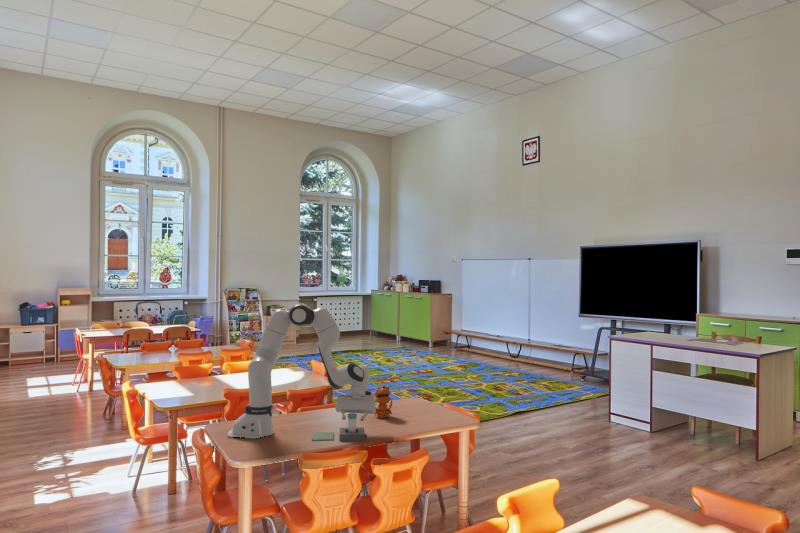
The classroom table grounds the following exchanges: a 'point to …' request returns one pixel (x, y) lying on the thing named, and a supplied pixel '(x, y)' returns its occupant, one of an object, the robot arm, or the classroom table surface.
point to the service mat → (322, 436)
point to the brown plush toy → (383, 402)
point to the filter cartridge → (352, 422)
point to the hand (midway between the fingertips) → (352, 419)
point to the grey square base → (352, 434)
